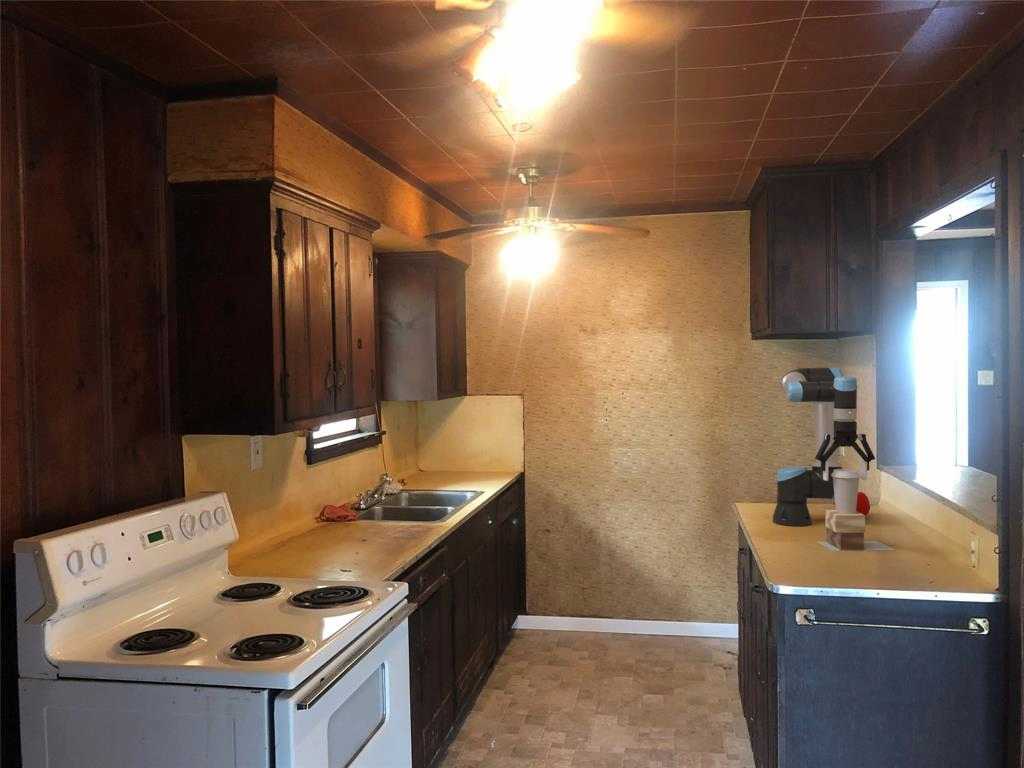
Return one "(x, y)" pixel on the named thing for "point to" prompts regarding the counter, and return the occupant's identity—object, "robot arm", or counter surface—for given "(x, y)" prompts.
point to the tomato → (862, 504)
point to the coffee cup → (845, 490)
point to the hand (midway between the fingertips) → (844, 480)
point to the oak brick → (845, 522)
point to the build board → (867, 546)
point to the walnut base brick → (846, 540)
